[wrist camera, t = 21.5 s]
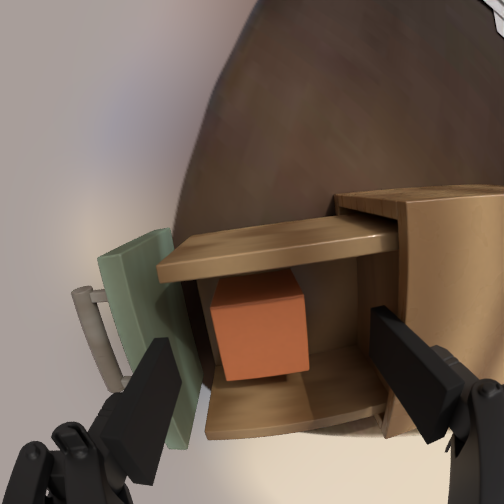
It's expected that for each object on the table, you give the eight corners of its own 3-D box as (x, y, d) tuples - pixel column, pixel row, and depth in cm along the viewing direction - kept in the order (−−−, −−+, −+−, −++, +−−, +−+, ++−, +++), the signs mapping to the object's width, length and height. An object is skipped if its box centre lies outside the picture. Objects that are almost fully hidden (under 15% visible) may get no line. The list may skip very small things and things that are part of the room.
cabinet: (341, 355, 21) (385, 439, 12) (333, 194, 19) (405, 201, 9) (474, 316, 21) (537, 360, 12) (480, 184, 18) (563, 192, 9)
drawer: (138, 376, 21) (104, 442, 13) (97, 240, 18) (27, 269, 11) (361, 351, 20) (402, 416, 13) (357, 201, 18) (422, 212, 10)
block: (230, 341, 19) (226, 382, 14) (218, 278, 18) (208, 307, 13) (297, 332, 19) (309, 370, 14) (291, 268, 18) (304, 294, 13)
